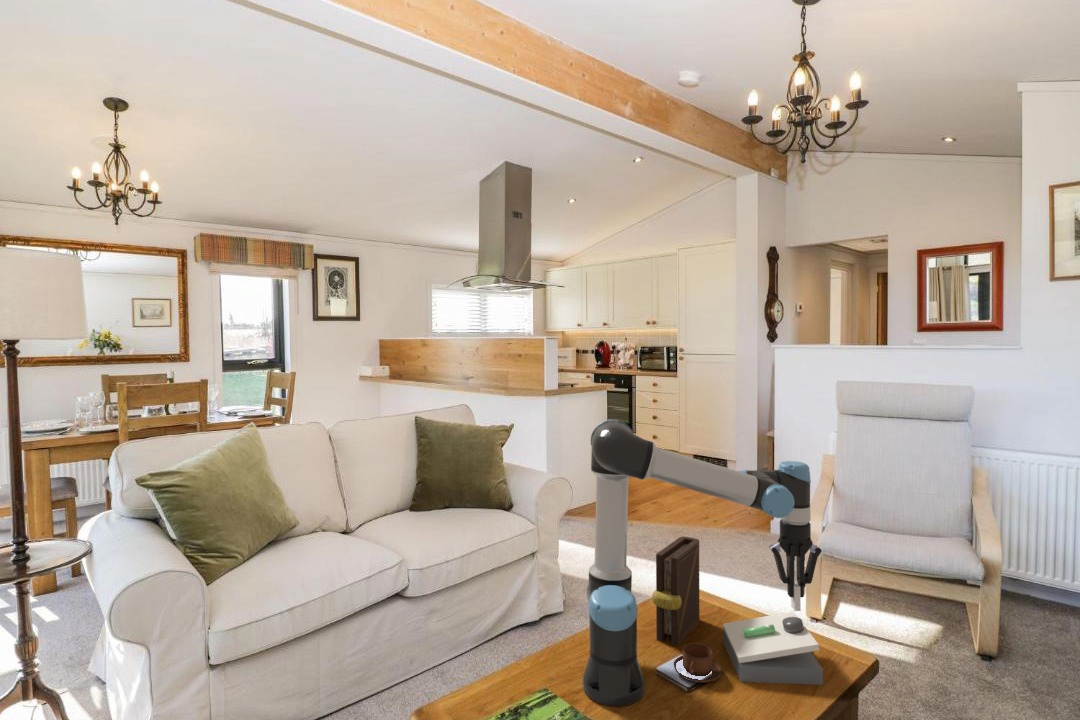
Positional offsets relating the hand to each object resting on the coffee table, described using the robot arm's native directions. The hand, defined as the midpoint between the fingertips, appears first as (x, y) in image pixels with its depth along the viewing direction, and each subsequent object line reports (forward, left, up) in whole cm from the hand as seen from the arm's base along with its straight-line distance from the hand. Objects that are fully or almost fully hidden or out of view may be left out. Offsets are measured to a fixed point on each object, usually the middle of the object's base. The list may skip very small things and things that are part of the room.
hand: (795, 608), depth 155 cm
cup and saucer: (-27, -7, -15) cm, 32 cm away
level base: (-7, 0, -15) cm, 16 cm away
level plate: (-7, 0, -8) cm, 11 cm away
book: (-29, +15, -15) cm, 36 cm away
